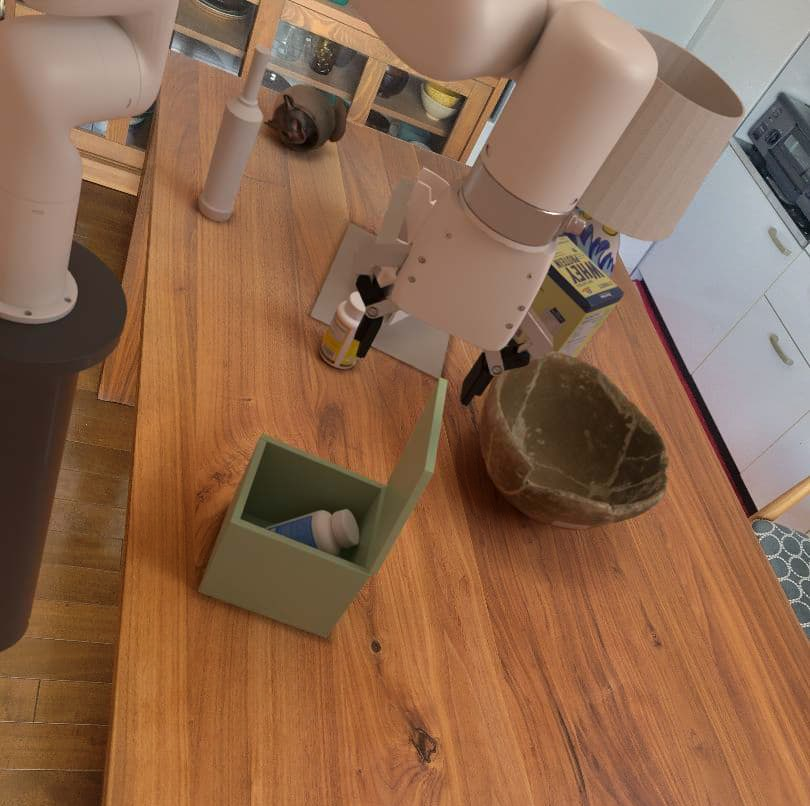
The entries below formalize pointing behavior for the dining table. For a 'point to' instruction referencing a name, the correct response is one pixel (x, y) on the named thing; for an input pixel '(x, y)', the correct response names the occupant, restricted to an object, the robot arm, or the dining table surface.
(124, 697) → the dining table surface
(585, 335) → the protein box
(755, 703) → the dining table surface
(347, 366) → the supplement bottle
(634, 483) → the bowl
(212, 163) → the bottle
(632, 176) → the table lamp
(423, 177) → the architectural model
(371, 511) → the box
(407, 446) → the lid
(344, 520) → the pill bottle
